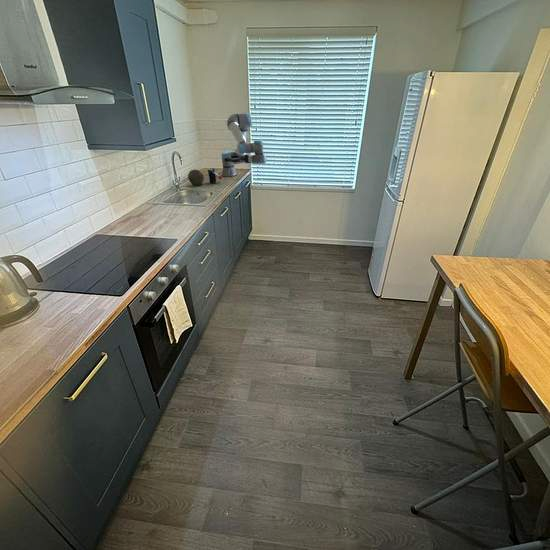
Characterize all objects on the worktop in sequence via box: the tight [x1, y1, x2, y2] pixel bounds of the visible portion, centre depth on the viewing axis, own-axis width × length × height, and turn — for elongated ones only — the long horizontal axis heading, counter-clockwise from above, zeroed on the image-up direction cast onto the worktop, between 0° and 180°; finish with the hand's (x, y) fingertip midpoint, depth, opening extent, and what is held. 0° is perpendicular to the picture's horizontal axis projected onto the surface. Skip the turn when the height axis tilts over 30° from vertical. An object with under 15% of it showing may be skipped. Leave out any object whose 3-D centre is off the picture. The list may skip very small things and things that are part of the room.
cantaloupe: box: [187, 169, 205, 187], centre depth 275 cm, size 14×14×15 cm
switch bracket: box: [205, 168, 221, 185], centre depth 281 cm, size 11×9×13 cm
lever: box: [210, 168, 223, 180], centre depth 279 cm, size 13×4×4 cm, turn 73°
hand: (228, 158), depth 269 cm, fingers open, 13 cm apart
